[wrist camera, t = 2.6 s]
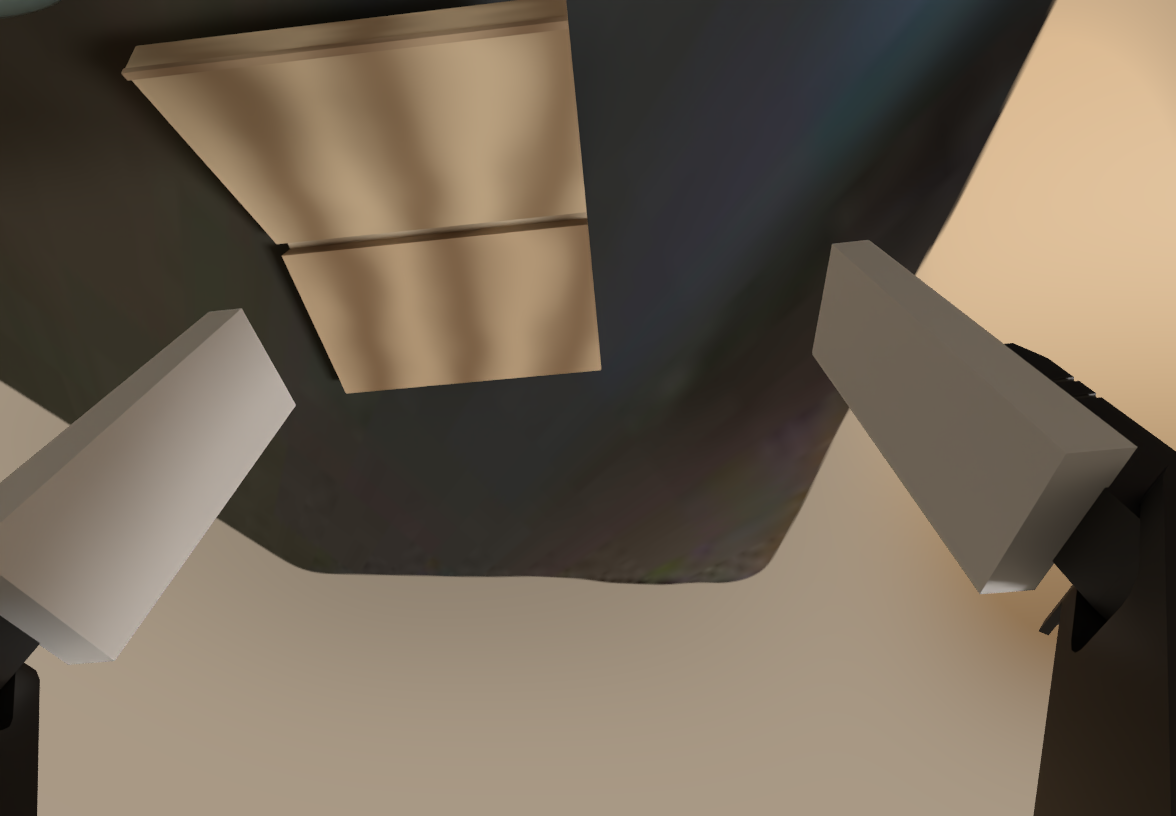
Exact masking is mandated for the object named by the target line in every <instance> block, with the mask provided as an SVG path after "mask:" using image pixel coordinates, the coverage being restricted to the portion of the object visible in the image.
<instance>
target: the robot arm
mask: <svg viewBox="0 0 1176 816" xmlns="http://www.w3.org/2000/svg"><path fill="white" fill-rule="evenodd" d="M812 354H813V356H814V357H815V359H816V360H817V362H818V363H819V365H820V366H821V367H822V369H823V370H824V372H825V373H826V375H827V376H828V377H829V379H830V380H831V382H832V383H833V385H834V386H835V387H836V389H837V390H838V392H839V393H840V395H841V396H842V397H843V399H844V400H845V402H846V403H847V405H848V406H849V407H850V409H851V410H852V412H853V413H854V415H855V416H856V417H857V419H858V420H859V422H860V423H861V424H862V426H863V427H864V429H865V430H866V432H867V433H868V435H869V436H870V438H871V439H872V440H873V442H874V443H875V445H876V446H877V447H878V449H879V450H880V452H881V453H882V455H883V456H884V458H885V459H886V460H887V462H888V463H889V465H890V466H891V468H892V469H893V470H894V472H895V473H896V475H897V476H898V478H899V479H900V480H901V482H902V483H903V485H904V486H905V488H906V489H907V491H908V492H909V493H910V495H911V496H912V498H913V499H914V501H915V502H916V503H917V505H918V506H919V508H920V509H921V511H922V512H923V513H924V515H925V516H926V518H927V519H928V521H929V522H930V523H931V525H932V526H933V528H934V529H935V530H936V532H937V533H938V535H939V536H940V538H941V539H942V541H943V542H944V543H945V545H946V546H947V548H948V549H949V551H950V552H951V554H952V555H953V556H954V558H955V559H956V560H957V562H958V563H959V565H960V566H961V568H962V569H963V571H964V572H965V574H966V575H967V576H968V578H969V579H970V581H971V582H972V583H973V585H974V586H975V588H976V589H977V591H978V592H979V594H988V593H1000V592H1013V591H1025V590H1026V591H1027V590H1035V589H1036V587H1037V586H1038V585H1039V583H1040V582H1041V580H1042V579H1043V578H1044V576H1045V575H1046V573H1047V572H1048V571H1049V569H1050V568H1051V567H1052V565H1053V564H1055V565H1056V566H1057V567H1058V568H1059V569H1060V570H1061V572H1062V573H1063V574H1064V575H1065V576H1066V577H1067V578H1068V579H1069V581H1070V582H1071V583H1072V584H1073V585H1072V586H1071V588H1070V589H1069V590H1068V592H1067V593H1066V594H1065V595H1064V597H1063V598H1062V599H1061V600H1060V602H1059V603H1058V604H1057V605H1056V607H1055V608H1054V609H1053V611H1052V612H1051V613H1050V614H1049V616H1048V617H1047V618H1046V619H1045V621H1044V623H1043V625H1042V626H1041V628H1040V630H1039V631H1040V632H1042V633H1044V634H1047V635H1049V634H1050V633H1051V631H1052V630H1053V629H1054V628H1055V627H1056V625H1058V624H1059V629H1058V637H1057V644H1056V651H1055V659H1054V667H1053V674H1052V681H1051V689H1050V696H1049V704H1048V711H1047V719H1046V726H1045V734H1044V741H1043V749H1042V756H1041V764H1040V772H1039V779H1038V786H1037V794H1036V802H1035V809H1034V816H1176V451H1174V450H1173V449H1172V448H1170V447H1169V446H1168V445H1166V444H1165V443H1163V442H1162V441H1161V440H1159V439H1158V438H1157V437H1155V436H1154V435H1152V434H1151V433H1150V432H1148V431H1147V430H1145V429H1144V428H1143V427H1142V426H1140V425H1139V424H1137V423H1136V422H1135V421H1133V420H1132V419H1131V418H1129V417H1128V416H1126V415H1125V414H1124V413H1122V412H1121V411H1119V410H1118V409H1117V408H1115V407H1114V406H1113V405H1111V404H1110V403H1109V402H1107V401H1106V400H1104V399H1103V398H1096V396H1095V395H1096V393H1095V392H1094V391H1092V390H1091V389H1089V388H1088V387H1086V386H1085V385H1084V384H1083V383H1081V382H1080V381H1074V377H1073V376H1071V375H1070V374H1068V373H1067V372H1066V371H1065V370H1063V369H1062V368H1061V367H1059V366H1058V365H1056V364H1055V363H1054V362H1052V361H1051V360H1049V359H1048V358H1046V357H1044V356H1042V355H1039V354H1037V353H1035V352H1032V351H1030V350H1028V349H1025V348H1023V347H1021V346H1018V345H1016V344H1014V343H1010V344H1003V343H1002V342H1000V341H999V340H998V339H997V338H995V337H994V336H993V335H991V334H990V333H989V332H987V331H986V330H985V329H984V328H982V327H981V326H980V325H978V324H977V323H976V322H975V321H973V320H972V319H971V318H969V317H968V316H967V315H965V314H964V313H962V311H960V310H959V309H957V308H956V307H955V306H954V305H952V304H951V303H950V302H949V301H947V300H946V299H945V298H943V297H942V296H941V295H939V294H938V293H937V292H936V291H934V290H933V289H932V288H930V287H929V286H928V285H926V284H925V283H924V282H922V281H921V280H920V279H919V278H917V277H916V276H915V275H914V274H912V273H911V272H910V271H908V270H907V269H906V268H904V267H903V266H902V265H901V264H899V263H898V262H897V261H895V260H894V259H893V258H891V257H890V256H889V255H888V254H886V253H885V252H884V251H882V250H881V249H880V248H878V247H877V246H876V245H875V244H873V243H872V242H871V241H869V240H864V241H855V242H845V243H836V244H832V248H831V253H830V259H829V264H828V270H827V275H826V280H825V286H824V291H823V297H822V302H821V308H820V313H819V319H818V324H817V329H816V335H815V340H814V346H813V351H812ZM295 406H296V405H295V403H294V401H293V399H292V397H291V396H290V394H289V392H288V390H287V388H286V387H285V385H284V383H283V381H282V380H281V378H280V376H279V374H278V372H277V371H276V369H275V367H274V365H273V364H272V362H271V360H270V358H269V356H268V355H267V353H266V351H265V349H264V348H263V346H262V344H261V342H260V340H259V339H258V337H257V335H256V333H255V331H254V330H253V328H252V326H251V324H250V323H249V321H248V319H247V317H246V315H245V314H244V312H243V310H242V308H240V309H231V310H222V311H213V312H208V313H207V314H206V315H205V316H203V317H202V318H201V319H200V320H198V321H197V322H196V323H195V324H194V325H192V326H191V327H190V328H189V329H187V330H186V331H185V332H184V333H183V334H181V335H180V336H179V337H178V338H176V339H175V340H174V341H173V342H172V343H170V344H169V345H168V346H167V347H165V348H164V349H163V350H162V351H161V352H159V353H158V354H157V355H156V356H154V357H153V358H152V359H151V360H150V361H148V362H147V363H146V364H145V365H143V366H142V367H141V368H140V369H139V370H137V371H136V372H135V373H134V374H133V375H131V376H130V377H129V378H128V379H126V380H125V381H124V382H123V383H122V384H120V385H119V386H118V387H117V388H115V389H114V390H113V391H112V392H111V393H109V394H108V395H107V396H106V397H104V398H103V399H102V400H101V401H100V402H98V403H97V404H96V405H95V406H93V407H92V408H91V409H90V410H89V411H87V412H86V413H85V414H84V415H82V416H81V417H80V418H79V419H78V420H76V421H75V422H74V423H73V424H71V425H70V426H69V427H68V428H67V429H65V430H64V431H63V432H62V433H60V434H59V435H58V436H57V437H56V438H54V439H53V440H52V441H51V442H50V443H48V444H47V445H46V446H45V447H43V448H42V449H41V450H40V451H39V452H37V453H36V454H35V455H34V456H32V457H31V458H30V459H29V460H28V461H26V462H25V463H24V464H23V465H21V466H20V467H19V468H18V469H17V470H15V471H14V472H13V473H12V474H10V475H9V476H8V477H7V478H6V479H4V480H3V481H2V482H1V483H0V816H37V791H38V740H39V738H38V737H39V688H40V687H39V686H40V679H39V677H38V674H37V672H36V670H34V669H33V668H31V667H30V666H28V665H27V664H25V663H24V662H25V660H26V659H27V658H28V657H29V656H30V654H31V653H32V652H33V651H34V650H35V649H36V648H37V646H38V645H40V646H42V647H43V648H45V649H46V650H48V651H49V652H51V653H52V654H54V655H55V656H57V657H58V658H59V659H61V660H62V661H64V662H65V663H67V664H80V663H94V662H107V661H114V660H116V658H117V657H118V655H119V654H120V652H121V651H122V650H123V648H124V647H125V645H126V644H127V642H128V641H129V640H130V638H131V637H132V636H133V634H134V633H135V631H136V630H137V628H138V627H139V626H140V624H141V623H142V621H143V620H144V619H145V617H146V616H147V614H148V613H149V612H150V610H151V609H152V607H153V606H154V605H155V603H156V602H157V600H158V599H159V598H160V596H161V595H162V593H163V592H164V590H165V589H166V588H167V586H168V585H169V583H170V582H171V581H172V579H173V578H174V576H175V575H176V574H177V572H178V571H179V569H180V568H181V566H182V565H183V564H184V562H185V561H186V559H187V558H188V556H189V555H190V554H191V552H192V551H193V550H194V548H195V547H196V545H197V544H198V542H199V541H200V539H201V538H202V537H203V535H204V534H205V533H206V531H207V530H208V528H209V527H210V526H211V524H212V523H213V521H214V520H215V518H216V517H217V516H218V514H219V513H220V511H221V510H222V509H223V507H224V506H225V504H226V503H227V502H228V500H229V499H230V497H231V496H232V495H233V493H234V492H235V490H236V489H237V488H238V486H239V485H240V483H241V482H242V480H243V479H244V478H245V476H246V475H247V473H248V472H249V471H250V469H251V468H252V466H253V465H254V464H255V462H256V461H257V459H258V458H259V456H260V455H261V454H262V452H263V451H264V449H265V448H266V447H267V445H268V444H269V442H270V441H271V440H272V438H273V437H274V435H275V434H276V433H277V431H278V430H279V428H280V427H281V425H282V424H283V423H284V421H285V420H286V418H287V417H288V416H289V414H290V413H291V411H292V410H293V409H294V407H295Z"/></svg>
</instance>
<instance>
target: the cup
mask: <svg viewBox="0 0 1176 816" xmlns="http://www.w3.org/2000/svg"><path fill="white" fill-rule="evenodd" d="M60 1H61V0H0V19H4V18H11V17H18V16H23V15H27V14H31V13H35V12H38V11H40V10H43V9H46V8H49V7H51V6H53V5H56V4H58V3H59V2H60Z"/></svg>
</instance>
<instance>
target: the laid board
mask: <svg viewBox="0 0 1176 816" xmlns="http://www.w3.org/2000/svg"><path fill="white" fill-rule="evenodd" d="M288 245H289V247H290V249H289V250H288V251H287V252H286V253H285V254H283V255H282V258H283V260H284V262H285V264H286V266H287V268H288V271H289V273H290V275H291V277H292V279H293V281H294V283H295V285H296V288H297V290H298V292H299V294H300V296H301V298H302V300H303V303H304V305H305V307H306V309H307V311H308V313H309V315H310V318H311V320H312V322H313V324H314V326H315V328H316V330H317V332H318V335H319V337H320V339H321V341H322V343H323V345H324V347H325V350H326V352H327V354H328V356H329V358H330V360H331V362H332V364H333V367H334V369H335V371H336V373H337V375H338V377H339V379H340V382H341V384H342V386H343V388H344V390H345V392H346V393H357V392H368V391H379V390H389V389H400V388H411V387H422V386H433V385H444V384H455V383H466V382H477V381H488V380H498V379H509V378H520V377H531V376H542V375H553V374H564V373H575V372H586V371H597V370H601V361H600V350H599V339H598V328H597V318H596V307H595V296H594V286H593V275H592V264H591V254H590V243H589V232H588V221H587V211H586V212H584V213H574V214H564V215H555V216H545V217H535V218H526V219H516V220H506V221H497V222H487V223H477V224H468V225H458V226H448V227H439V228H429V229H419V230H410V231H400V232H390V233H381V234H371V235H361V236H352V237H342V238H333V239H323V240H313V241H304V242H294V243H288Z"/></svg>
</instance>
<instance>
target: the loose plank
mask: <svg viewBox="0 0 1176 816" xmlns="http://www.w3.org/2000/svg"><path fill="white" fill-rule="evenodd" d="M121 74H122V75H123V76H124V77H125V78H126V79H127V80H128V81H129V80H132V81H133V82H134V84H135V85H136V86H137V87H138V88H139V89H140V90H141V91H142V93H143V94H144V95H145V96H146V97H147V98H148V99H149V100H150V102H151V103H152V104H153V105H154V106H155V107H156V108H157V110H158V111H159V112H160V113H161V114H162V115H163V116H164V117H165V119H166V120H167V121H168V122H169V123H170V124H171V125H172V126H173V128H174V129H175V130H176V131H177V132H178V133H179V134H180V135H181V137H182V138H183V139H184V140H185V141H186V142H187V143H188V145H189V146H190V147H191V148H192V149H193V150H194V151H195V152H196V154H197V155H198V156H199V157H200V158H201V159H202V160H203V161H204V163H205V164H206V165H207V166H208V167H209V168H210V169H211V171H212V172H213V173H214V174H215V175H216V176H217V177H218V178H219V180H220V181H221V182H222V183H223V184H224V185H225V186H226V187H227V189H228V190H229V191H230V192H231V193H232V194H233V195H234V197H235V198H236V199H237V200H238V201H239V202H240V203H241V204H242V206H243V207H244V208H245V209H246V210H247V211H248V212H249V213H250V215H251V216H252V217H253V218H254V219H255V220H256V221H257V222H258V224H259V225H260V226H261V227H262V228H263V229H264V230H265V232H266V233H267V234H268V235H269V236H270V237H271V238H272V239H273V241H274V242H275V243H276V244H284V243H294V242H304V241H313V240H323V239H333V238H342V237H352V236H361V235H371V234H381V233H390V232H400V231H410V230H419V229H429V228H439V227H448V226H458V225H468V224H477V223H487V222H497V221H506V220H516V219H526V218H535V217H545V216H555V215H564V214H574V213H584V212H586V201H585V190H584V179H583V169H582V159H581V149H580V138H579V128H578V118H577V108H576V97H575V87H574V77H573V67H572V57H571V46H570V36H569V26H568V16H567V5H566V0H516V1H507V2H499V3H491V4H482V5H474V6H466V7H457V8H449V9H441V10H432V11H424V12H416V13H407V14H399V15H390V16H382V17H374V18H365V19H357V20H349V21H340V22H332V23H324V24H315V25H307V26H299V27H290V28H282V29H274V30H265V31H257V32H249V33H240V34H232V35H224V36H215V37H207V38H199V39H190V40H182V41H173V42H165V43H157V44H148V45H140V46H136V47H135V49H134V51H133V53H132V55H131V57H130V59H129V61H128V63H127V65H126V68H123V70H122V72H121Z"/></svg>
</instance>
